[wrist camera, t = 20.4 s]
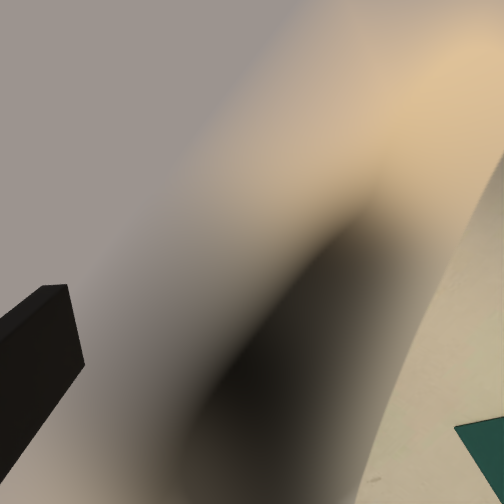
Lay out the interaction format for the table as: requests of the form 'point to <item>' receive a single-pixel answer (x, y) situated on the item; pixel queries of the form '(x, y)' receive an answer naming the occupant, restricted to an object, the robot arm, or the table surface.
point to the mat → (487, 450)
